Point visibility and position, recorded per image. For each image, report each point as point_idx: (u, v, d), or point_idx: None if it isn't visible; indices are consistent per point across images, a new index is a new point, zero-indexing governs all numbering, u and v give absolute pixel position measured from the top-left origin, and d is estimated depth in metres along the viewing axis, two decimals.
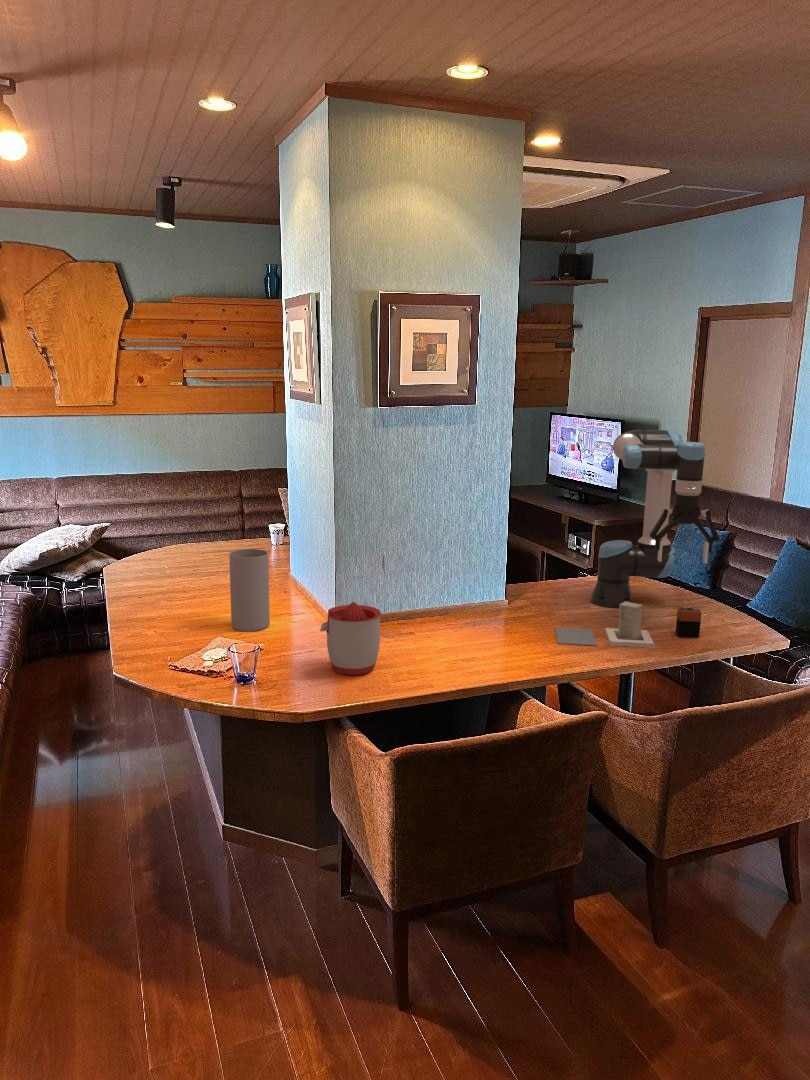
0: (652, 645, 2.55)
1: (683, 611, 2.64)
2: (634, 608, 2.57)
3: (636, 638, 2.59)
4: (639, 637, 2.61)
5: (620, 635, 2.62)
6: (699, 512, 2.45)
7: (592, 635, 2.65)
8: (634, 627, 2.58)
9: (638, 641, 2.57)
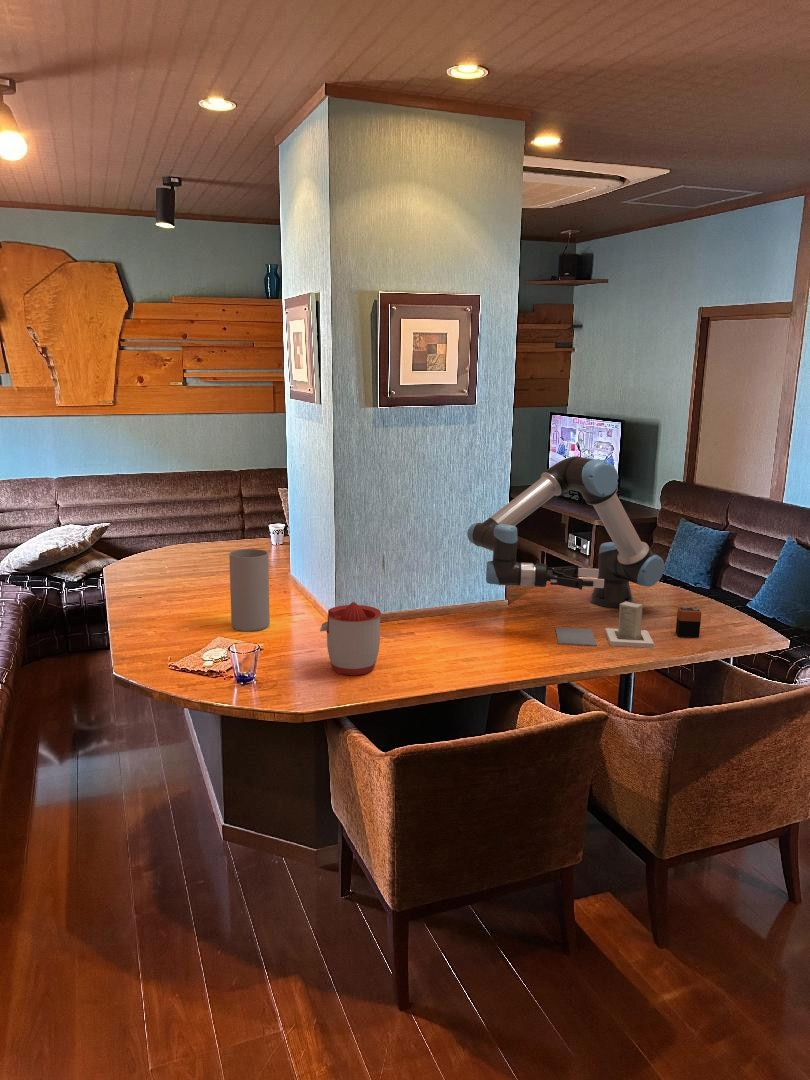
0: (652, 645, 2.55)
1: (683, 611, 2.64)
2: (634, 608, 2.57)
3: (636, 638, 2.59)
4: (639, 637, 2.61)
5: (620, 635, 2.62)
6: None
7: (592, 635, 2.65)
8: (634, 627, 2.58)
9: (638, 641, 2.57)
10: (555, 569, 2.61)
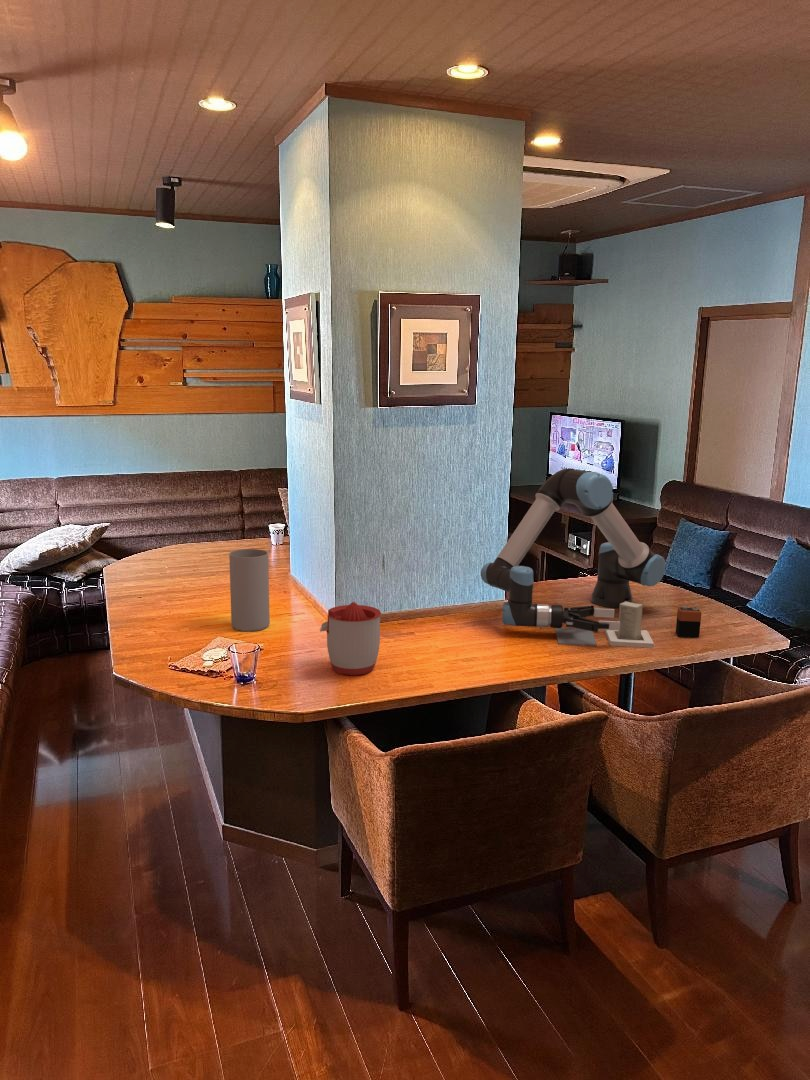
0: (652, 645, 2.55)
1: (683, 611, 2.64)
2: (634, 608, 2.57)
3: (636, 638, 2.59)
4: (639, 637, 2.61)
5: (620, 635, 2.62)
6: None
7: (592, 635, 2.65)
8: (634, 627, 2.58)
9: (638, 641, 2.57)
10: (571, 610, 2.63)
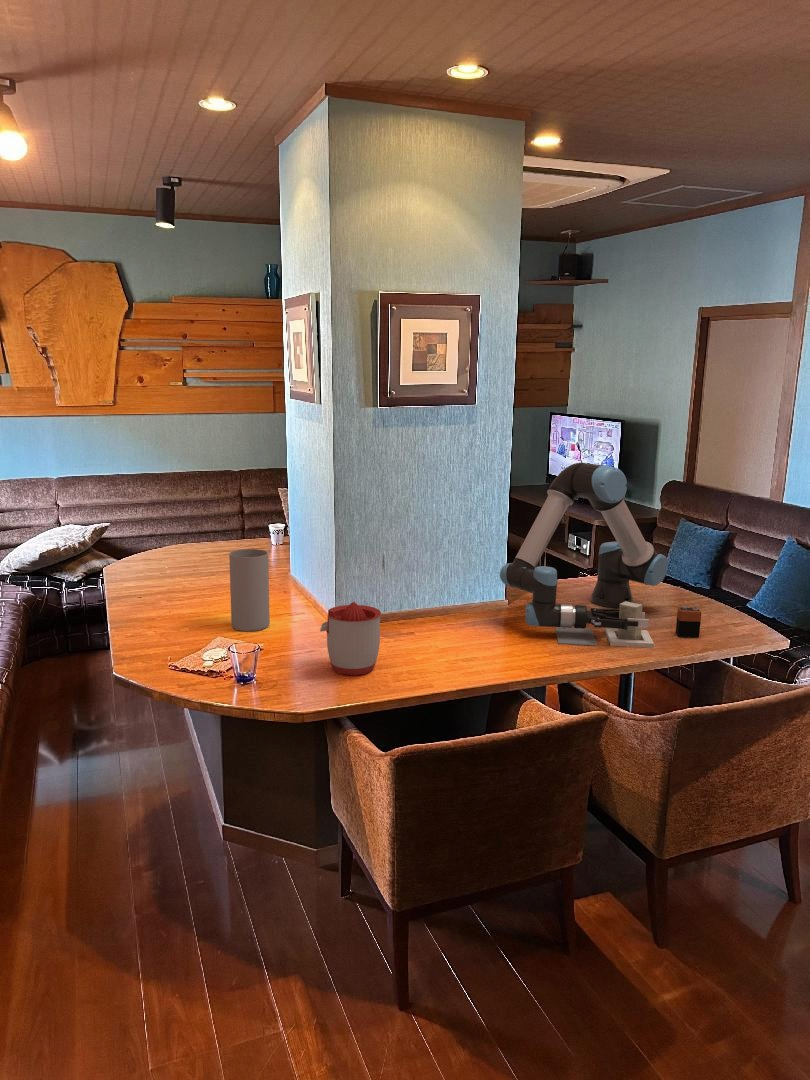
0: (652, 645, 2.55)
1: (683, 611, 2.64)
2: (634, 608, 2.57)
3: (636, 638, 2.59)
4: (639, 637, 2.61)
5: (620, 635, 2.62)
6: (592, 623, 2.59)
7: (592, 635, 2.65)
8: (634, 627, 2.58)
9: (638, 641, 2.57)
10: (594, 611, 2.63)
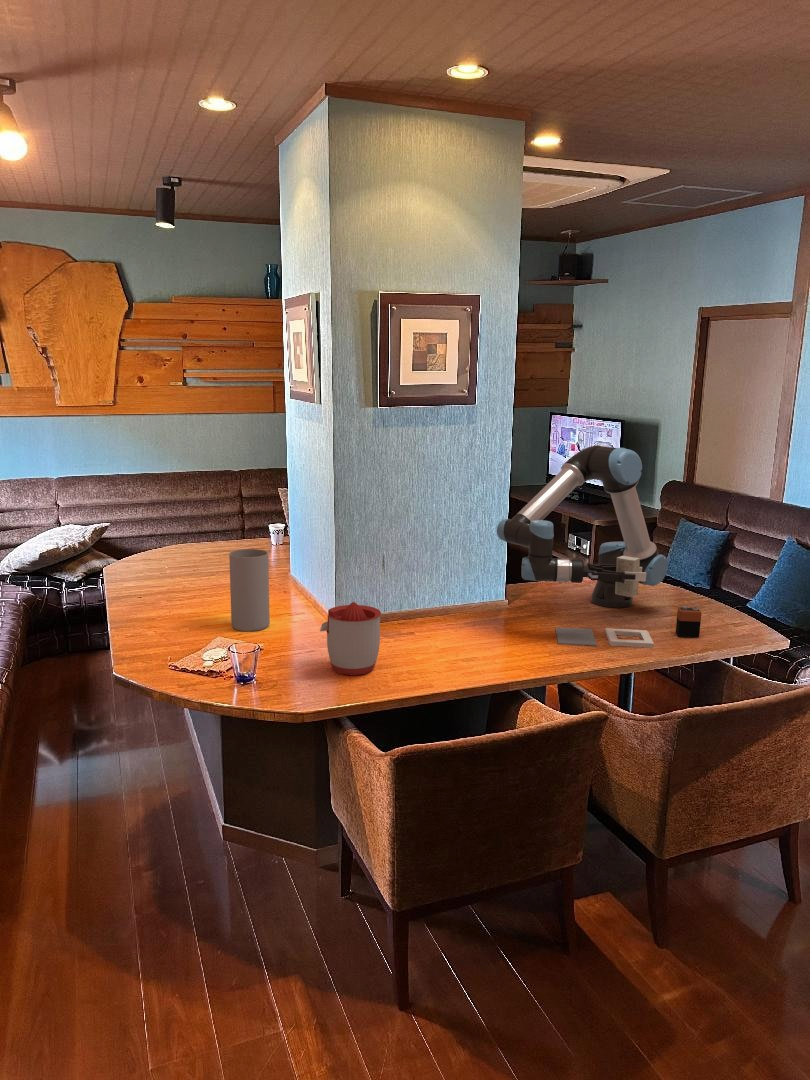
0: (652, 645, 2.55)
1: (683, 611, 2.64)
2: (631, 561, 2.54)
3: (633, 592, 2.56)
4: (636, 591, 2.58)
5: (617, 589, 2.59)
6: (589, 577, 2.56)
7: (592, 635, 2.65)
8: (631, 581, 2.55)
9: (638, 641, 2.57)
10: (591, 565, 2.59)
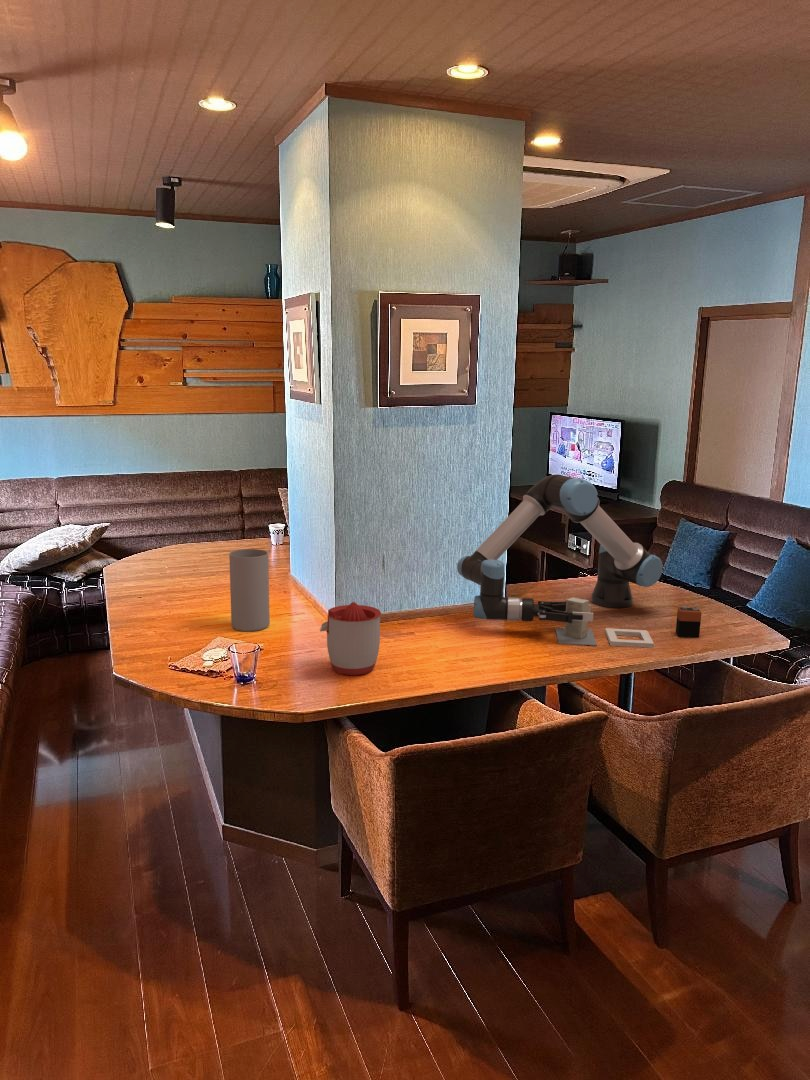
0: (652, 645, 2.55)
1: (683, 611, 2.64)
2: (580, 604, 2.59)
3: (582, 633, 2.61)
4: (585, 632, 2.62)
5: (567, 630, 2.64)
6: (538, 616, 2.61)
7: (592, 635, 2.65)
8: (580, 622, 2.60)
9: (638, 641, 2.57)
10: (541, 604, 2.64)
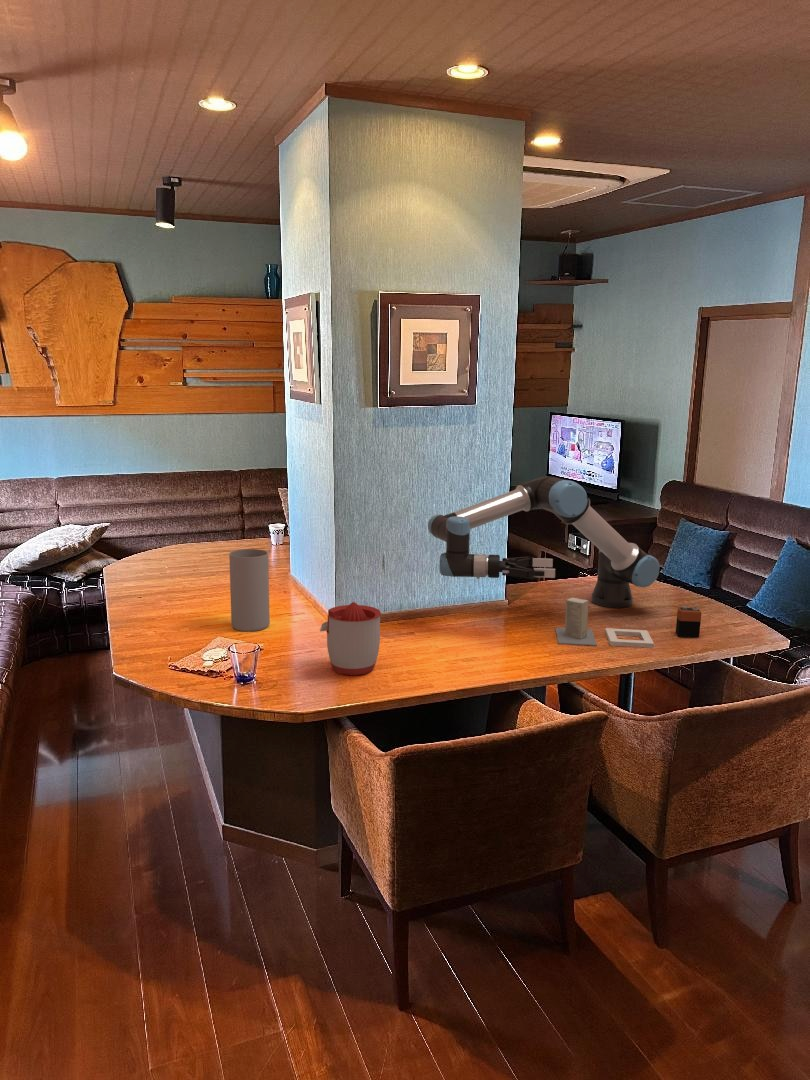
0: (652, 645, 2.55)
1: (683, 611, 2.64)
2: (580, 604, 2.59)
3: (582, 634, 2.61)
4: (585, 632, 2.62)
5: (567, 631, 2.64)
6: None
7: (592, 635, 2.65)
8: (580, 623, 2.60)
9: (638, 641, 2.57)
10: (508, 560, 2.63)
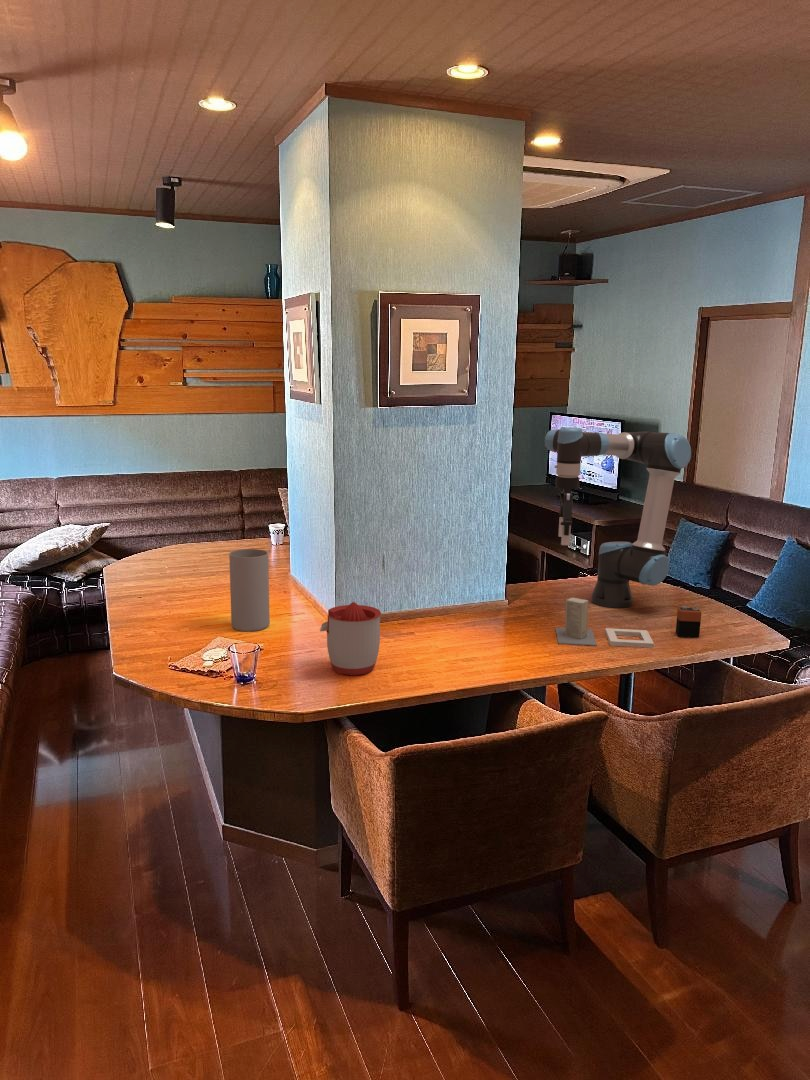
0: (652, 645, 2.55)
1: (683, 611, 2.64)
2: (580, 604, 2.59)
3: (582, 634, 2.61)
4: (585, 632, 2.62)
5: (567, 631, 2.64)
6: (564, 494, 2.58)
7: (592, 635, 2.65)
8: (580, 623, 2.60)
9: (638, 641, 2.57)
10: None
